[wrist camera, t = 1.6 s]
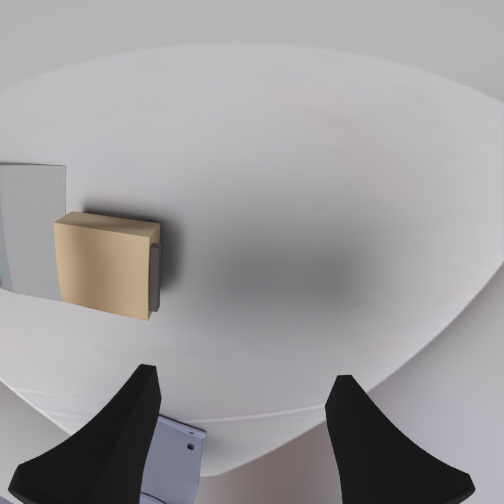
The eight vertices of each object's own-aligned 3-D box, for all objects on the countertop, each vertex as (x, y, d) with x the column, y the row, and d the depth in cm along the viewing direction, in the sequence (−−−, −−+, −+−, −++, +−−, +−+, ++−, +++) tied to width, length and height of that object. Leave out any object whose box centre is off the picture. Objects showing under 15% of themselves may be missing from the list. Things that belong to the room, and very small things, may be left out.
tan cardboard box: (173, 218, 18) (158, 238, 15) (168, 292, 20) (156, 322, 17) (80, 206, 17) (53, 222, 14) (84, 276, 19) (62, 300, 16)
